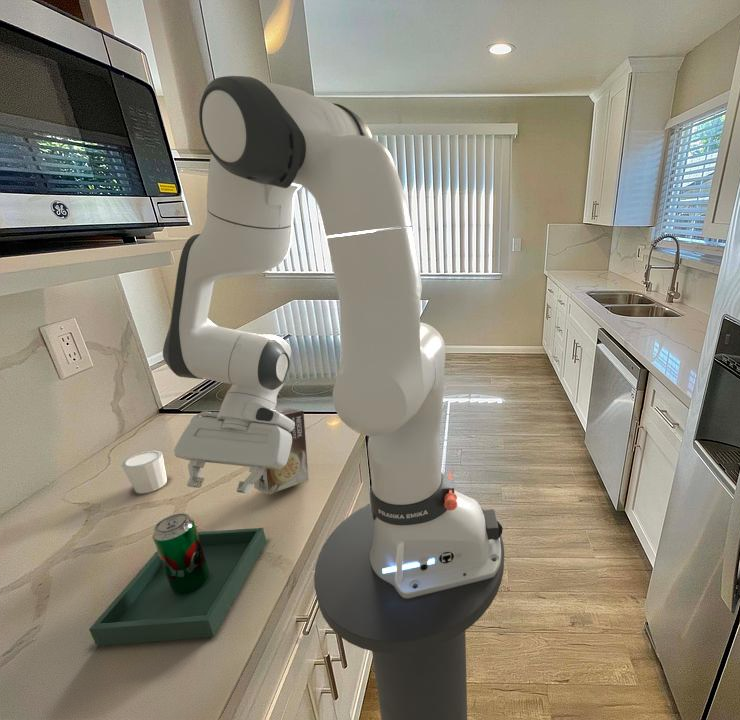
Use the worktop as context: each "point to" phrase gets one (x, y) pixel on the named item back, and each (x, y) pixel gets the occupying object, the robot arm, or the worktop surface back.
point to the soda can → (181, 553)
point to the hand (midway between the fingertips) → (217, 490)
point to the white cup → (146, 471)
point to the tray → (181, 611)
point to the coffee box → (296, 462)
